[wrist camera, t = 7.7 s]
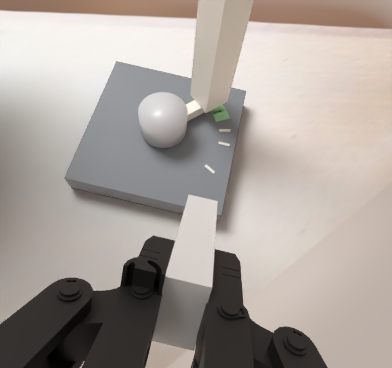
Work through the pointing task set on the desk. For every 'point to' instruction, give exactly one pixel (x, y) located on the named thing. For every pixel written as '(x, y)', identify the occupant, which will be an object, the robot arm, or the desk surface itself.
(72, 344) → the robot arm
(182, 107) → the lever
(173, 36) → the desk surface
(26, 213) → the desk surface
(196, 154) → the dial plate
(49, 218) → the desk surface
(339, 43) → the desk surface
